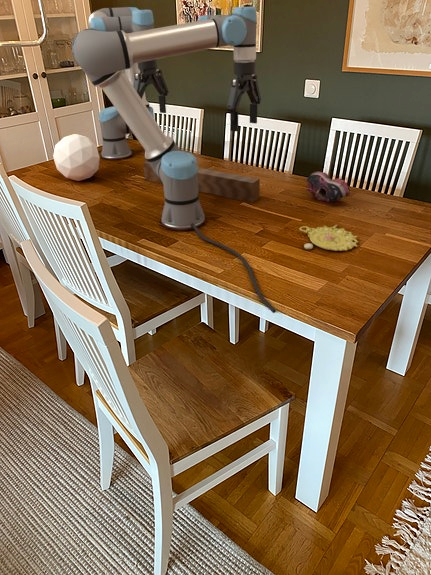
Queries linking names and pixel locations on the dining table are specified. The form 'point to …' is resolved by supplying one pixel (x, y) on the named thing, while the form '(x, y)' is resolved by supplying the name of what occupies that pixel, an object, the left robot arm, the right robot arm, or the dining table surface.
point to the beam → (218, 183)
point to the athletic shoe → (327, 187)
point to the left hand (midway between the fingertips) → (152, 116)
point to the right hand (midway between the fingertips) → (244, 126)
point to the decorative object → (330, 238)
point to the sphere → (76, 157)
